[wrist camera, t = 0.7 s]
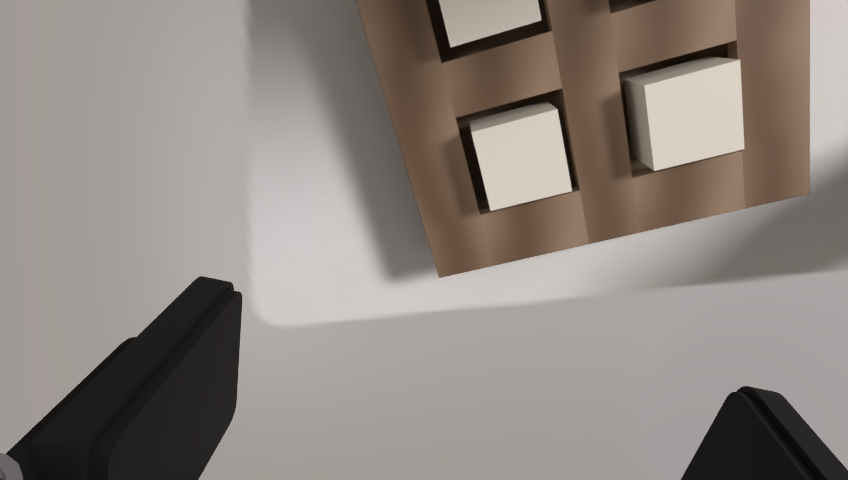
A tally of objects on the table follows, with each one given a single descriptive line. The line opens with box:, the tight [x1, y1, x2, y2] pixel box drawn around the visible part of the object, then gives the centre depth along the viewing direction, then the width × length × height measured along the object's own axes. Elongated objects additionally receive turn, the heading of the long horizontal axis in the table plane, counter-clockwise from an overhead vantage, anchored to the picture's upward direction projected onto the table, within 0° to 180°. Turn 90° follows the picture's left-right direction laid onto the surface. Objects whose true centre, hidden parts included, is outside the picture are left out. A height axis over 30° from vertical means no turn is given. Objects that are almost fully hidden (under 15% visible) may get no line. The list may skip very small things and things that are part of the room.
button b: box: [469, 101, 572, 211], centre depth 29 cm, size 5×5×4 cm
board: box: [356, 0, 810, 278], centre depth 29 cm, size 22×22×4 cm
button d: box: [623, 56, 744, 171], centre depth 28 cm, size 5×5×4 cm
